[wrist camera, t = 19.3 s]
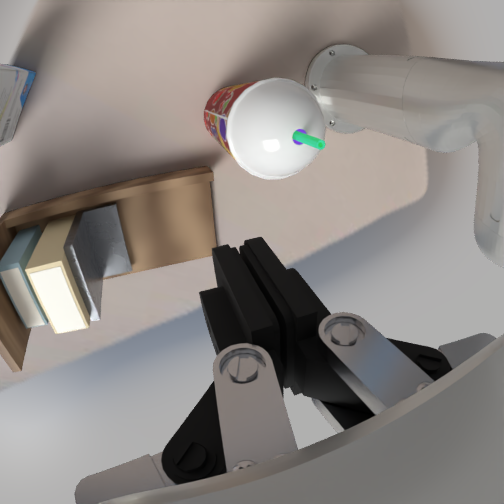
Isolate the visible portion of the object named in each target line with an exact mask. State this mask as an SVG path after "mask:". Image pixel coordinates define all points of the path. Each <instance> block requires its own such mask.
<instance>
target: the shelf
mask: <svg viewBox="0 0 504 504" xmlns="http://www.w3.org/2000/svg"><path fill="white" fill-rule="evenodd" d="M210 181H214V177H213V172H212V170H211V169H210V168H209V167H208V166H204V167H198V168H192V169H186V170H180V171H175V172H169V173H164V174H159V175H153V176H148V177H143V178H138V179H134V180H129V181H124V182H120V183H115V184H111V185H106V186H102V187H98V188H94V189H89V190H85V191H81V192H77V193H73V194H70V195H66V196H62V197H58V198H55V199H51V200H47V201H44V202H40V203H37V204H33V205H30V206H27V207H23V208H20V209H17V210H14V211H10V212H7V213H4V214H3V215H2V216H1V218H0V261H1V259H2V258H3V256H4V254H5V253H6V251H7V249H8V248H9V246H10V244H11V243H12V241H13V240H14V238H15V236H16V235H17V233H18V232H19V230H22V229H26V228H29V227H33V226H36V225H39V226H40V229H41V232H42V234H43V232H44V230H45V228H46V226H47V224H48V222H49V221H53V220H56V219H60V218H64V217H68V216H72V215H76V212H77V211H81V210H85V209H90V208H94V207H98V206H102V205H106V204H111V203H115V202H116V203H117V208H118V212H119V217H120V221H121V225H122V230H123V234H124V238H125V242H126V246H127V250H128V253H129V257H130V261H131V265H132V271H130V272H125V273H121V274H116V275H112V276H107V277H103V280H104V279H109V278H113V277H118V276H122V275H127V274H131V273H136V272H140V271H145V270H149V269H154V268H158V267H163V266H167V265H172V264H177V263H181V262H186V261H190V260H195V259H200V258H204V257H209V256H212V248H214V247H217V246H216V237H215V228H214V219H213V209H212V199H211V189H210ZM30 331H31V328H27V329H26V327H25V325H24V324H23V322H22V320H21V318H20V316H19V314H18V313H17V311H16V309H15V307H14V305H13V303H12V301H11V299H10V297H9V295H8V293H7V291H6V289H5V287H4V285H3V282H2V280H1V278H0V354H1V356H2V357H3V359H4V360H5V362H6V363H7V364H8V366H9V367H10V369H11V370H12V371H13V372H18V371H22V366H23V361H24V356H25V352H26V347H27V343H28V339H29V335H30Z"/></svg>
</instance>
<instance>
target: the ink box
mask: <svg viewBox="0 0 504 504" xmlns="http://www.w3.org/2000/svg"><path fill="white" fill-rule="evenodd" d="M35 75H36V73H35V72H34V71H31V70H27V69H24V68H20V67H16V66H12V65H6V64H0V146H2V145H4V144H6V143H8V142H10V141H11V140H12V138H13V135H14V131H15V128H16V125H17V122H18V119H19V116H20V113H21V110H22V108H23V105H24V102H25V100H26V97H27V94H28V92H29V89H30V87H31V85H32V82H33V80H34V77H35Z"/></svg>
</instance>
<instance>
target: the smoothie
mask: <svg viewBox="0 0 504 504" xmlns="http://www.w3.org/2000/svg"><path fill="white" fill-rule="evenodd" d="M204 122H205V125H206V128H207V130H208V131H209V132H210V134H211V135H212V136H213V137H214V138H215V139H216V140H217V141H218V142H219V143H220V144H221V145H222V146H223V148H224V149H225V150H226V151H227V152H228V153H229V154H230V155H231V156H232V157H233V158H234V159H235V160H236V161H237V163H238V164H239V166H241V167H242V168H243V169H245V170H246V171H247V172H249V173H250V174H251V175H254V176H257V177H260V178H263V179H283V178H286V177H289V176H292V175H295V174H297V173H298V172H299V171H301V170H302V169H304V168H305V167H307V166H308V165H310V164H311V163H312V162H313V160H314V159H315V158H316V157H317V155H318V154H319V153H320V150H322V149H323V148H324V147H325V141H324V139H325V131H326V127H325V121H324V116H323V113H322V109H321V107H320V105H319V103H318V101H317V99H316V97H315V96H314V95H313V94H312V93H311V92H310V91H309V90H308V89H307V88H306V87H305V86H303V85H301V84H299V83H297V82H295V81H293V80H291V79H284V78H276V77H275V78H270V79H265V80H261V81H255V82H250V83H244V84H239V85H234V86H229V87H226V88H223V89H220V90H219V91H217V92H216V93H214V94H213V95H212V97H211V98H210V99H209V100H208V102H207V104H206V107H205V110H204Z"/></svg>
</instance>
